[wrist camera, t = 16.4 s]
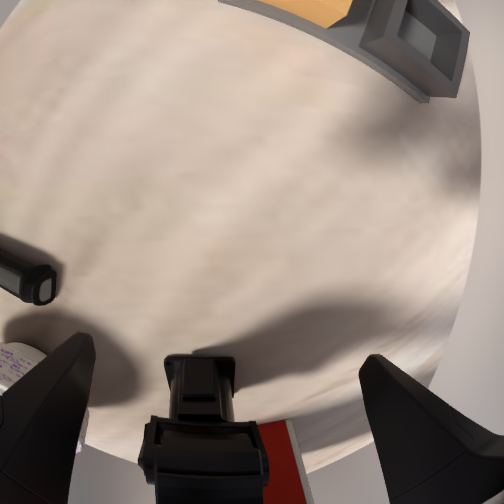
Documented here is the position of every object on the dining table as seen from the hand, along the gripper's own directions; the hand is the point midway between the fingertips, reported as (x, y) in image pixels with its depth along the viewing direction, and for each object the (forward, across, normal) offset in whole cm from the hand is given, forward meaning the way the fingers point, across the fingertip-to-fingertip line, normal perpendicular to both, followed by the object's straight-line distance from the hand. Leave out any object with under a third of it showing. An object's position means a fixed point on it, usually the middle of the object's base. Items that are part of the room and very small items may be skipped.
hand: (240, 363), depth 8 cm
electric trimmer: (+12, +20, +6) cm, 25 cm away
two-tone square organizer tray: (+12, -5, -17) cm, 22 cm away
